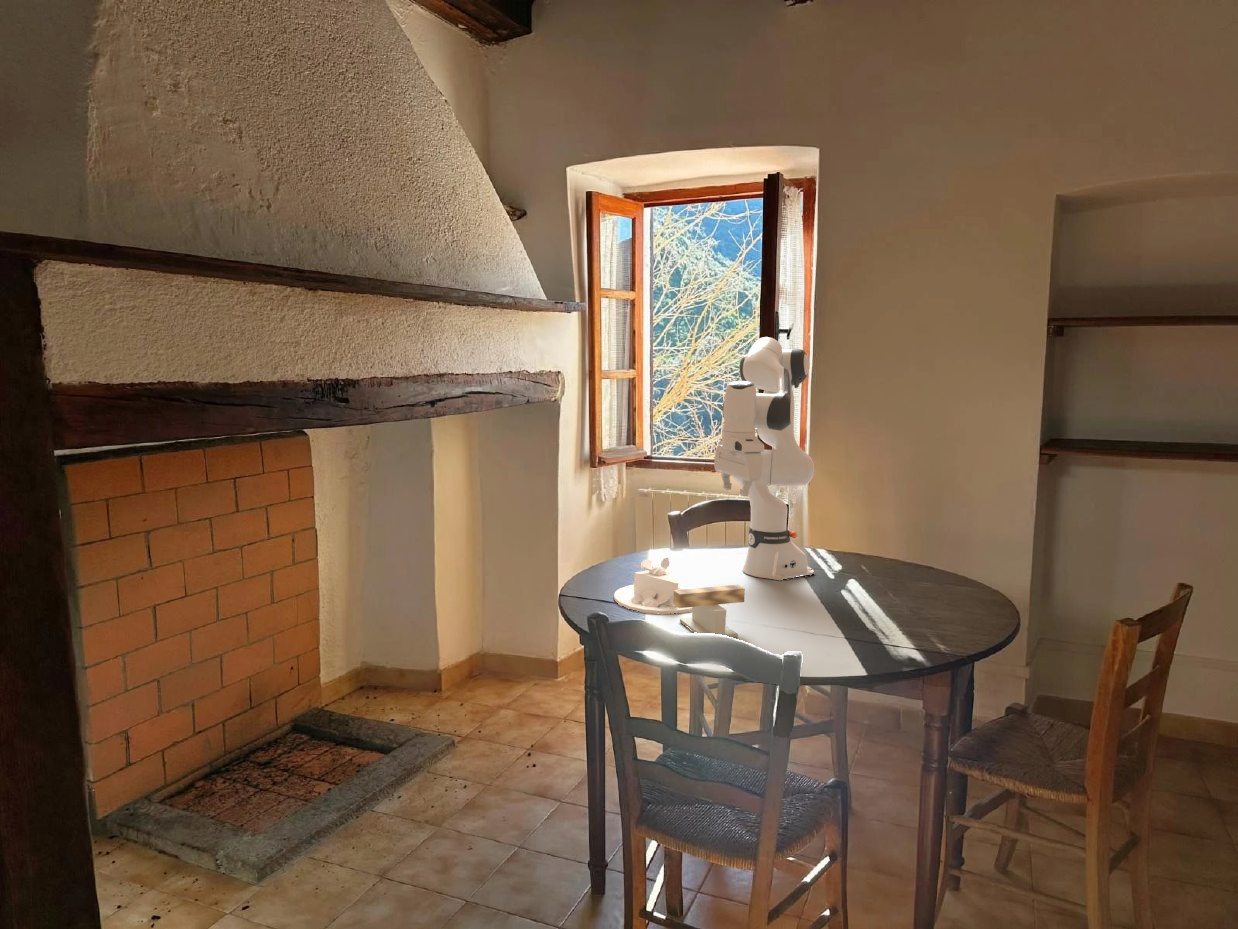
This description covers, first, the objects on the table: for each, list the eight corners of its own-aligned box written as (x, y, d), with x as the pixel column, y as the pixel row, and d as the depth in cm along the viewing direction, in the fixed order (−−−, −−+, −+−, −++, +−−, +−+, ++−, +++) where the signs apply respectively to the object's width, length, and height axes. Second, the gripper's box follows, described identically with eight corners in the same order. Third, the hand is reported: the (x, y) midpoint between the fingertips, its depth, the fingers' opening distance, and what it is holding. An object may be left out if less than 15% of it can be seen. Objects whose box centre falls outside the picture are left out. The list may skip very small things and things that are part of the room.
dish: (597, 594, 234) (599, 555, 232) (671, 583, 246) (672, 546, 245) (643, 620, 213) (645, 578, 211) (721, 607, 225) (723, 567, 224)
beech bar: (737, 597, 210) (738, 584, 210) (744, 602, 207) (744, 588, 207) (673, 603, 204) (673, 590, 203) (679, 608, 201) (679, 594, 200)
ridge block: (711, 619, 214) (712, 593, 213) (737, 637, 202) (739, 610, 201) (679, 622, 211) (680, 596, 210) (704, 641, 198) (706, 613, 197)
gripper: (709, 437, 231) (707, 486, 233) (746, 446, 212) (743, 499, 214) (729, 437, 233) (727, 485, 235) (768, 446, 214) (765, 498, 216)
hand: (735, 492), depth 224 cm, fingers open, 8 cm apart
